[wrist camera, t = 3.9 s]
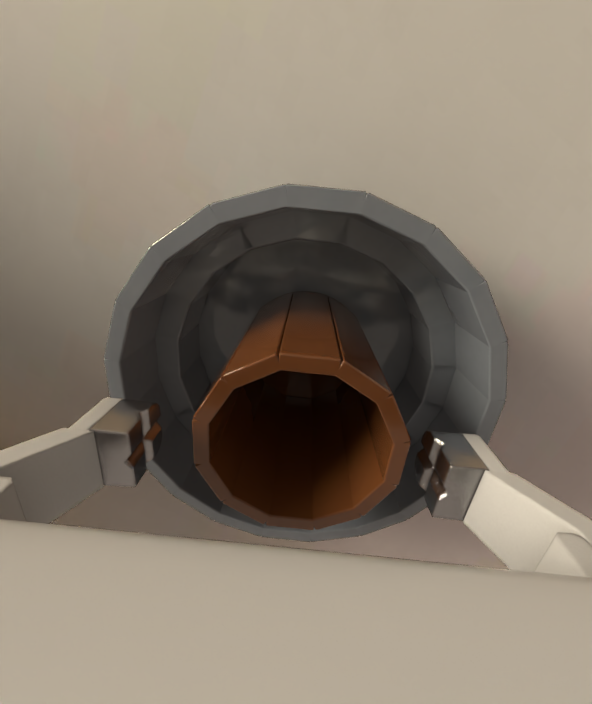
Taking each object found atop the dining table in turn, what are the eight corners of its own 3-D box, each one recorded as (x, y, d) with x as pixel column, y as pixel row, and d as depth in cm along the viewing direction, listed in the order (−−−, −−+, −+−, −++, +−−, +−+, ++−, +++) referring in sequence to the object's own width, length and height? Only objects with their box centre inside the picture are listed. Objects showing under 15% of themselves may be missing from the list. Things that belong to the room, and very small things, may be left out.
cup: (373, 297, 15) (433, 369, 8) (353, 405, 18) (383, 538, 10) (247, 284, 15) (187, 343, 8) (244, 394, 18) (195, 519, 10)
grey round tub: (476, 216, 14) (584, 213, 8) (405, 461, 20) (442, 556, 14) (164, 185, 14) (70, 161, 9) (180, 438, 20) (129, 523, 14)
